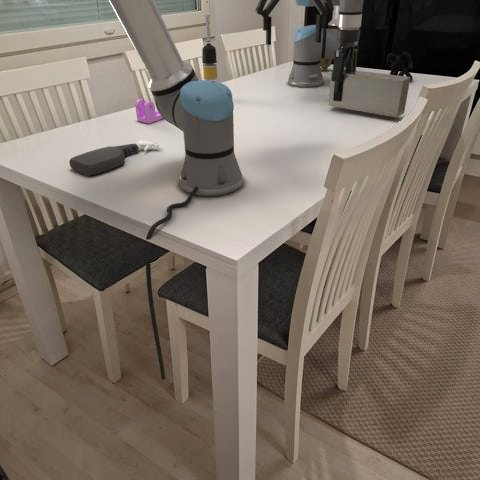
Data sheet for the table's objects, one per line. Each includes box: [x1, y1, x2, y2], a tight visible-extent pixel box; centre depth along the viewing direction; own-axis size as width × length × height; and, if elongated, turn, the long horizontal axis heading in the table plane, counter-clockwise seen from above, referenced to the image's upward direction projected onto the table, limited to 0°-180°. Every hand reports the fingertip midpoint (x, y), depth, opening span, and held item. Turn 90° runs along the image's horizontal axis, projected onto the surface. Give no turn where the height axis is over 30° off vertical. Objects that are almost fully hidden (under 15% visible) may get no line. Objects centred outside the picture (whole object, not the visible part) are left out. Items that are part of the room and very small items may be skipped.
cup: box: [320, 59, 333, 72], centre depth 218 cm, size 8×7×8 cm
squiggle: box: [385, 51, 414, 81], centre depth 198 cm, size 11×10×15 cm
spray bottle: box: [68, 139, 160, 177], centre depth 124 cm, size 3×11×24 cm
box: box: [327, 69, 411, 118], centre depth 154 cm, size 26×6×12 cm, turn 52°
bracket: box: [134, 98, 164, 124], centre depth 156 cm, size 13×6×7 cm, turn 143°
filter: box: [201, 14, 218, 82], centre depth 171 cm, size 6×6×30 cm
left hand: (293, 43), depth 119 cm, fingers open, 13 cm apart
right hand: (341, 98), depth 161 cm, fingers closed on box, 6 cm apart
